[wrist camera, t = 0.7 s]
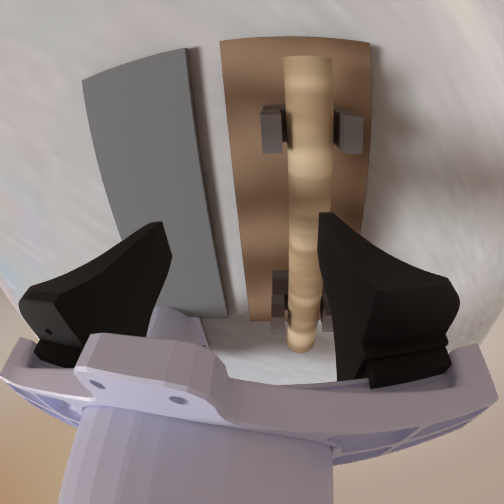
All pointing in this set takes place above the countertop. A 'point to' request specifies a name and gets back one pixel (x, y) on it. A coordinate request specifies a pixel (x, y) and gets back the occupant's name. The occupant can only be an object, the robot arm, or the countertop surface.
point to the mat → (158, 171)
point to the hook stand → (276, 155)
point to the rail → (307, 186)
